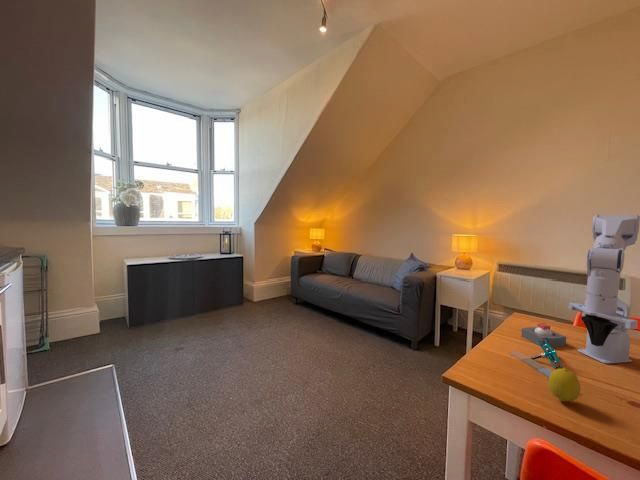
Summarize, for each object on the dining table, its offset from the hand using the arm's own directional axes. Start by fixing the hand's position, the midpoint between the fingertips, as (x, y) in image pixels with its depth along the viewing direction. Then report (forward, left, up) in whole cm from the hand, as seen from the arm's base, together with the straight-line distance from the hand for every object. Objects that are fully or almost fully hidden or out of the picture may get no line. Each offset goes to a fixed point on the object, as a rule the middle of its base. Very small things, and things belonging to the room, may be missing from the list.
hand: (597, 344), depth 73 cm
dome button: (-7, -22, -9) cm, 25 cm away
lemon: (+17, +7, -10) cm, 21 cm away
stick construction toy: (+4, -10, -10) cm, 15 cm away
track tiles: (+10, -8, -9) cm, 16 cm away
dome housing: (-7, -22, -9) cm, 25 cm away
